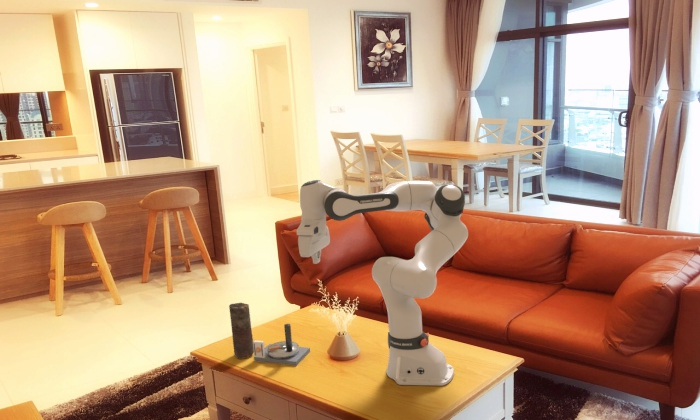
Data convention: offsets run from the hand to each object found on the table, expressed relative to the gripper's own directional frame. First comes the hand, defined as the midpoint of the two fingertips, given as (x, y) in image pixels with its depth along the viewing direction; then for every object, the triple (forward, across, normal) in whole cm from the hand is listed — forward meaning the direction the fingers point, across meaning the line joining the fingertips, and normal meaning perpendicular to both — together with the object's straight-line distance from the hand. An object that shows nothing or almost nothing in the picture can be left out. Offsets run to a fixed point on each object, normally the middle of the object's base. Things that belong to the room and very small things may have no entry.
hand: (316, 262), depth 208 cm
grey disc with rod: (+33, +8, -13) cm, 36 cm away
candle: (+34, +10, -28) cm, 45 cm away
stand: (+34, +8, -13) cm, 37 cm away
